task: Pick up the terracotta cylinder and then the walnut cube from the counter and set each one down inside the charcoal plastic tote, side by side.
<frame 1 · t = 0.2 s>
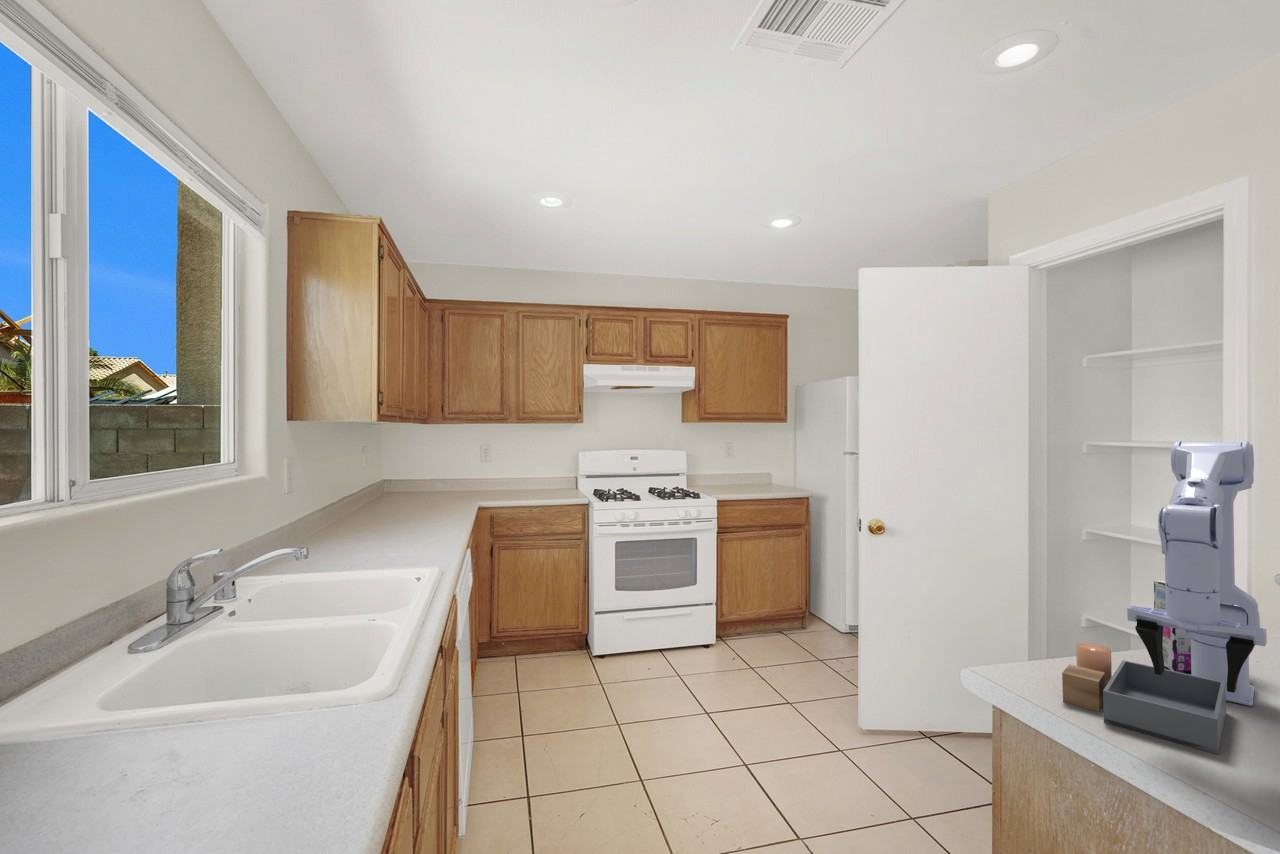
hand: (1194, 681, 85), 10 cm above the countertop, tool pointing down, fingers open, 7 cm apart
candy bar box: (1194, 669, 111), on the countertop
terracotta cylinder: (1094, 686, 105), on the countertop
tote: (1165, 717, 94), on the countertop
walnut cube: (1084, 701, 100), on the countertop
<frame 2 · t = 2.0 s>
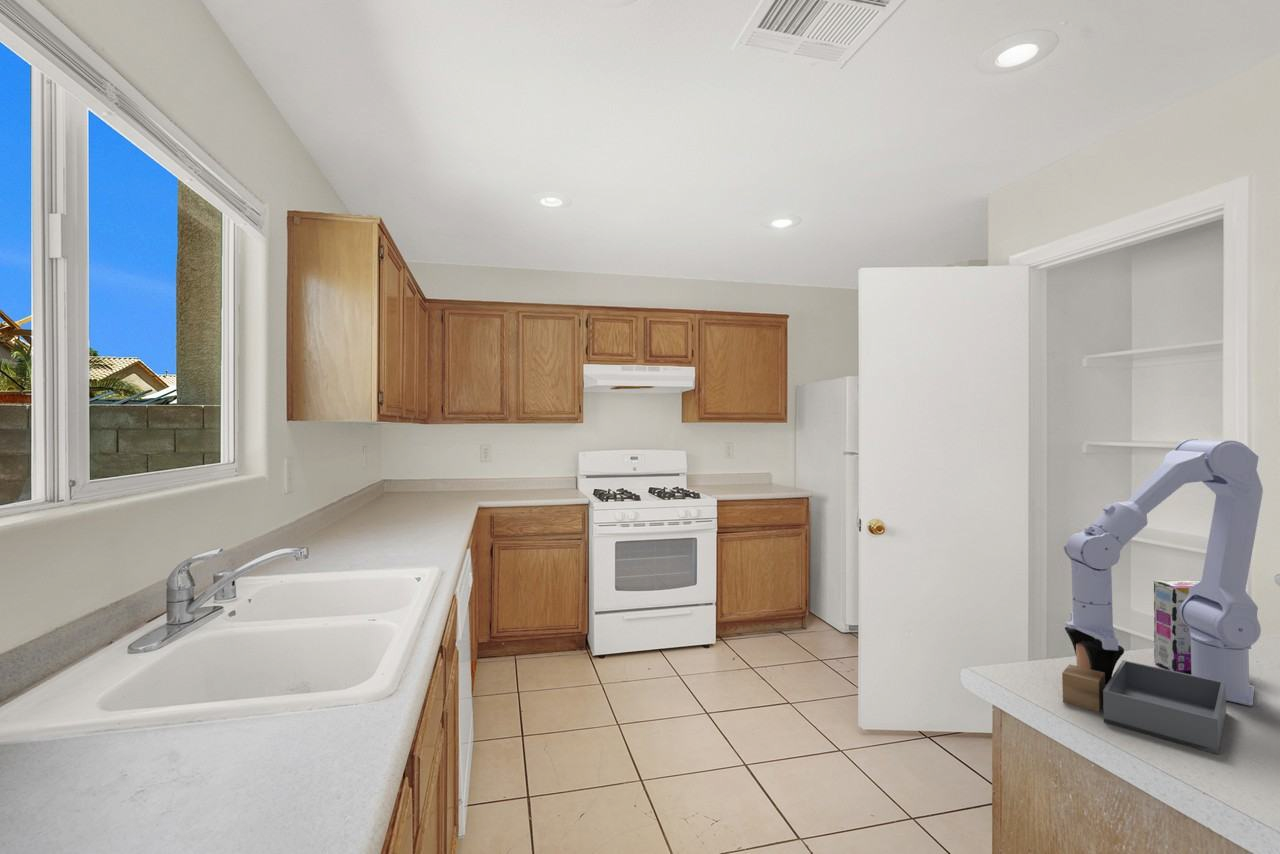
hand: (1093, 675, 105), 2 cm above the countertop, tool pointing down, fingers open, 6 cm apart
nothing on the countertop moved.
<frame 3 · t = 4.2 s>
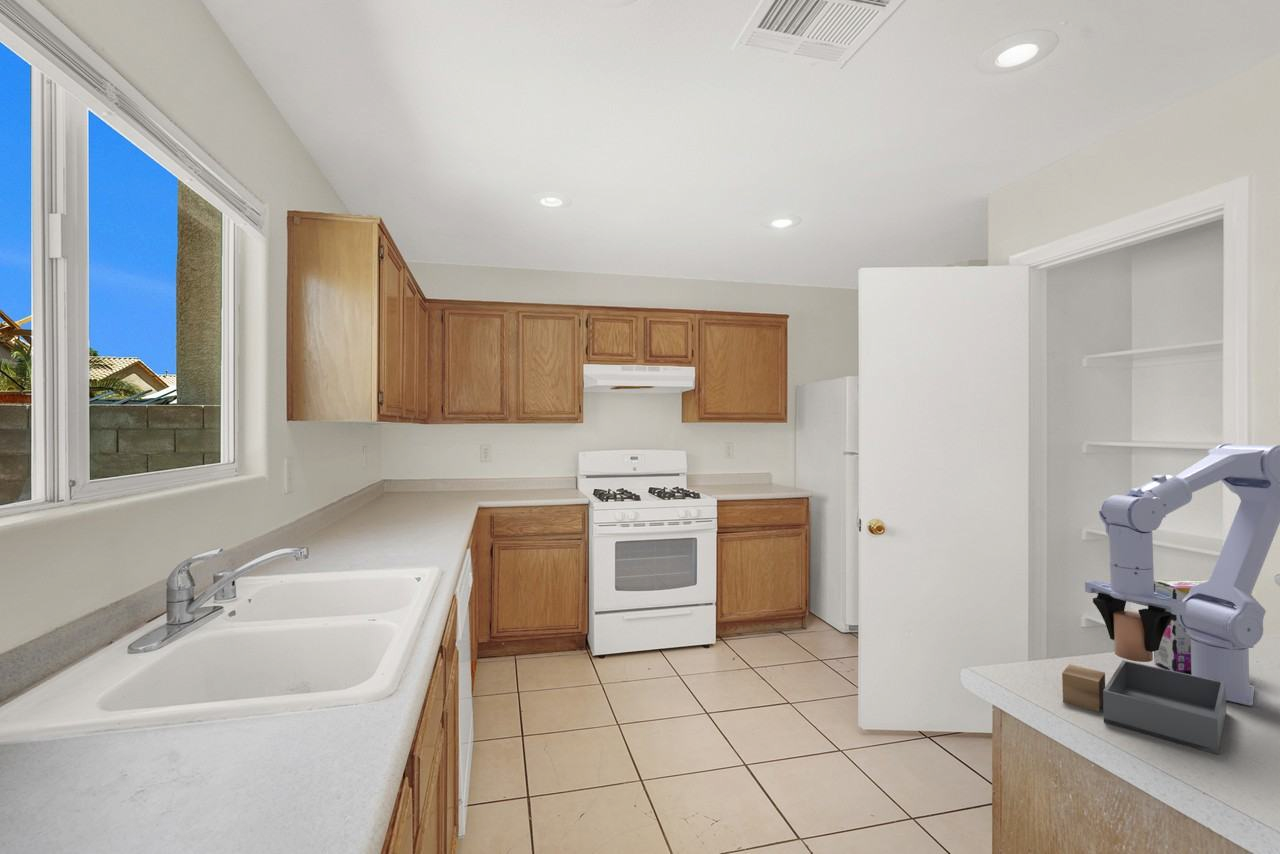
hand: (1133, 644, 100), 9 cm above the countertop, tool pointing down, fingers closed on terracotta cylinder, 5 cm apart
terracotta cylinder: (1133, 656, 100), point 7 cm above the countertop, touching gripper
everything else where it was.
when the fingers open (5 cm above the countertop, at t = 5.9 s): terracotta cylinder drops 2 cm, resting on tote.
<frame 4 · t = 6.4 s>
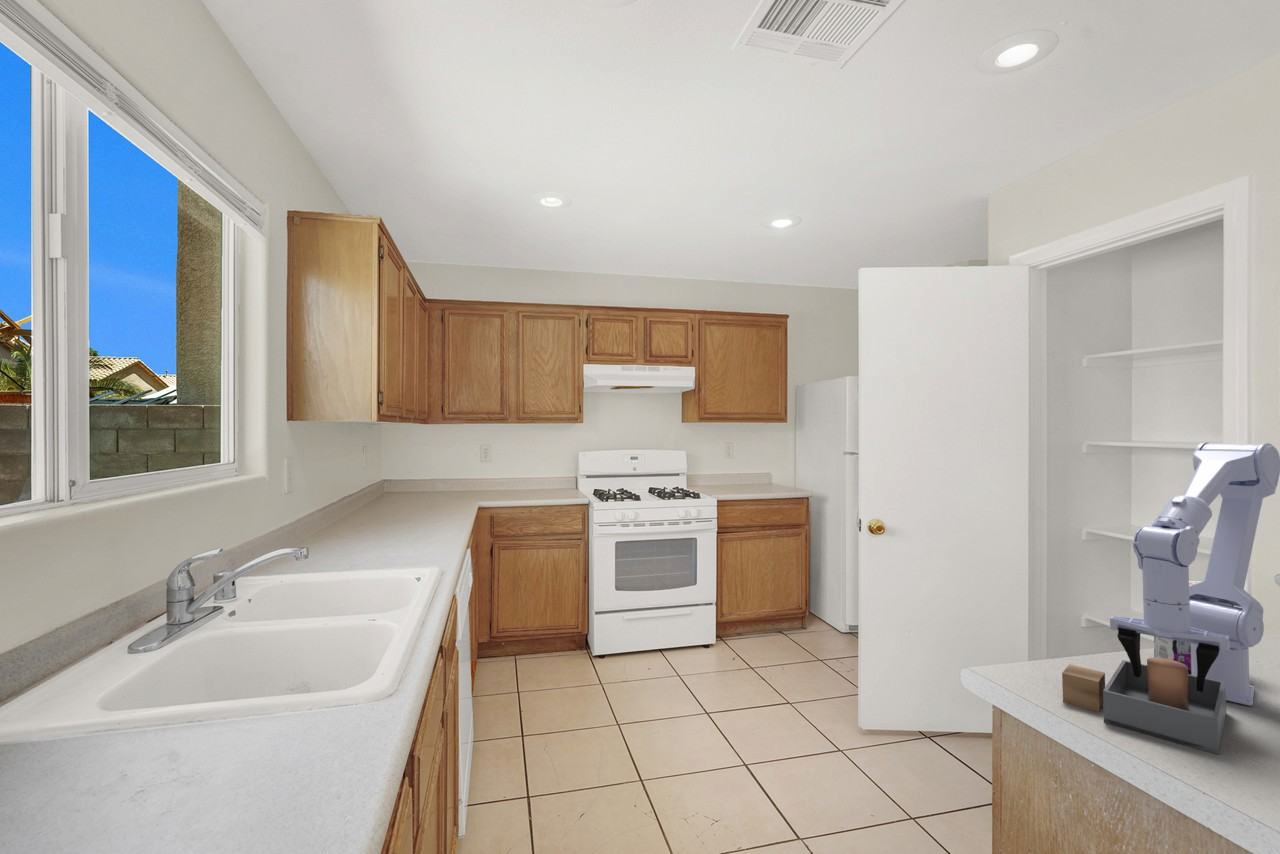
hand: (1168, 682, 96), 5 cm above the countertop, tool pointing down, fingers open, 7 cm apart
terracotta cylinder: (1168, 706, 96), point 1 cm above the countertop, touching tote
everything else where it was.
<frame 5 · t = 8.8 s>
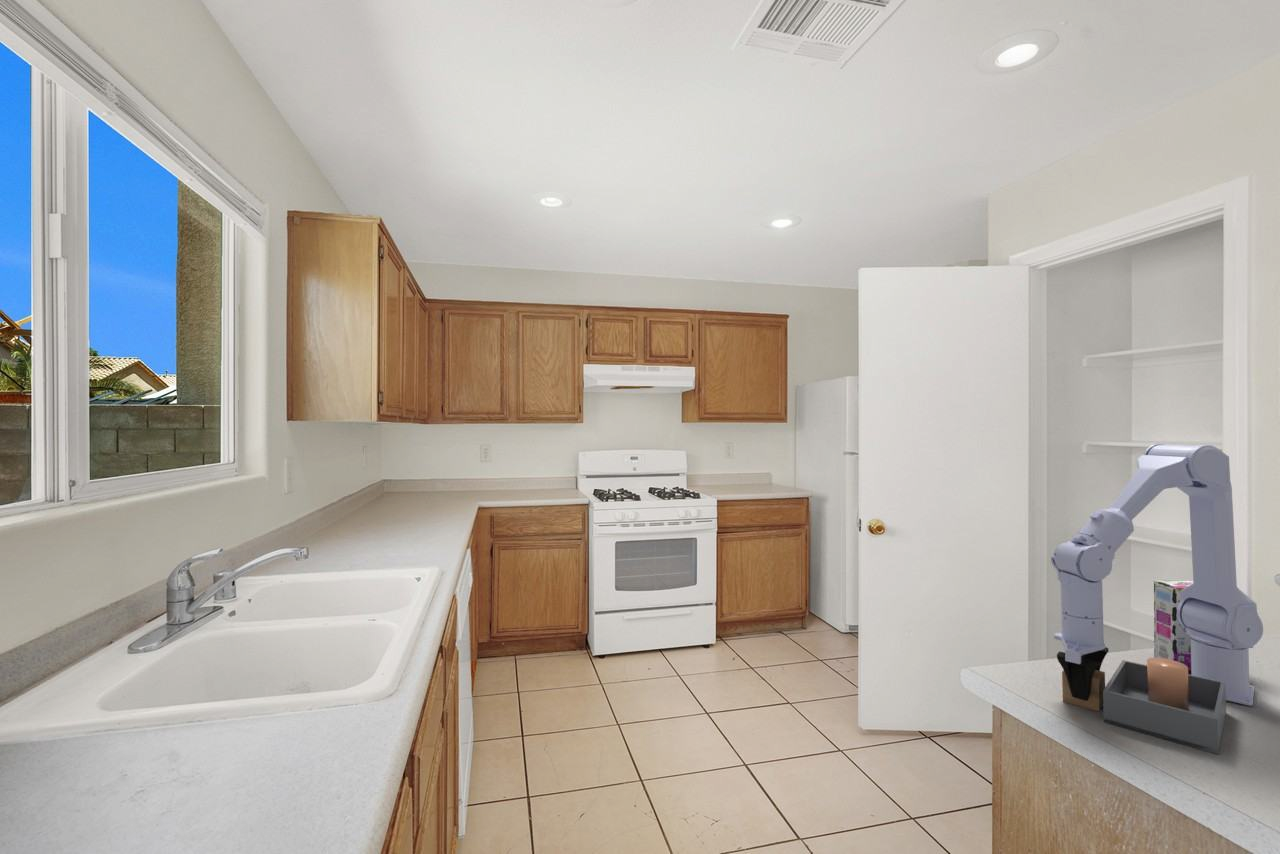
hand: (1083, 692, 100), 1 cm above the countertop, tool pointing down, fingers closed on walnut cube, 5 cm apart
walnut cube: (1084, 701, 100), on the countertop, touching gripper
everything else where it was.
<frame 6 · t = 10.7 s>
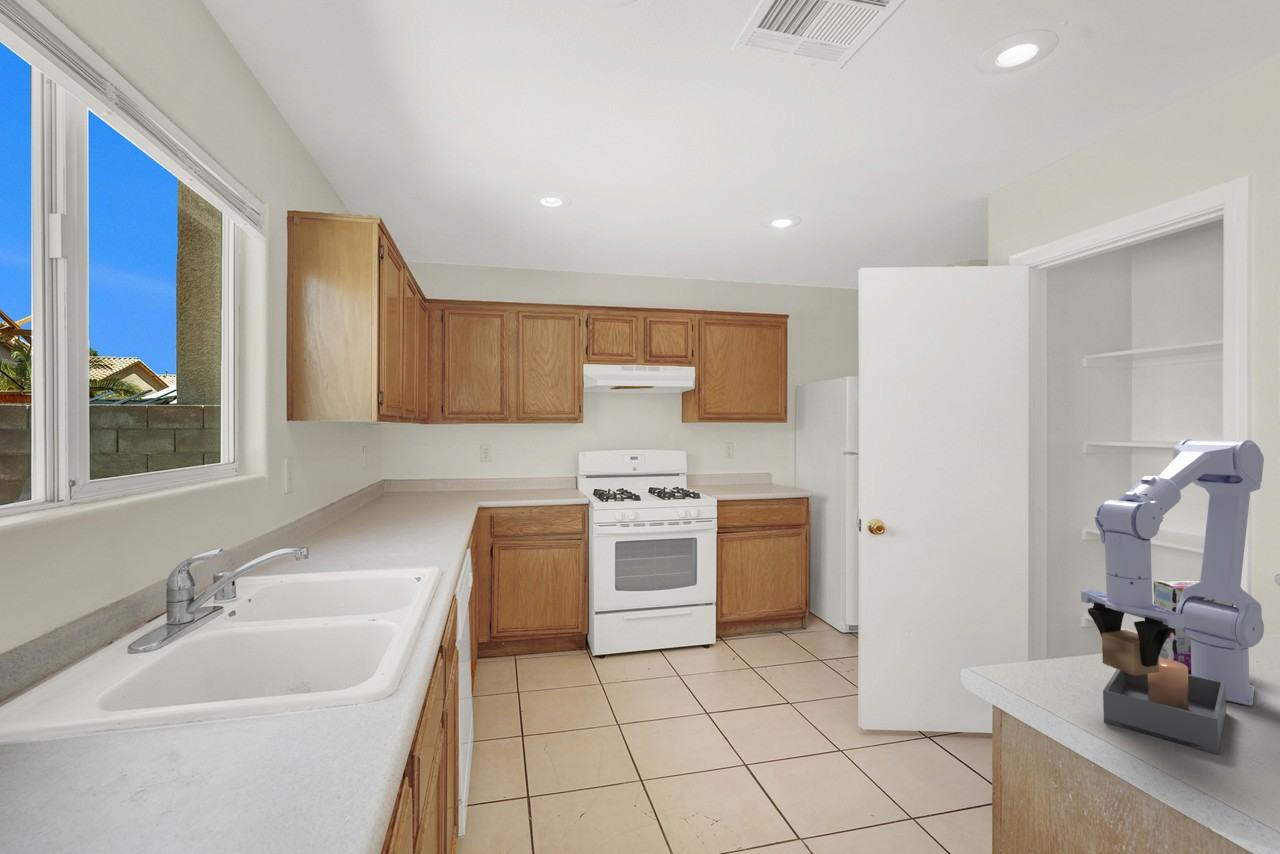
hand: (1130, 658, 94), 9 cm above the countertop, tool pointing down, fingers closed on walnut cube, 5 cm apart
walnut cube: (1130, 667, 94), point 8 cm above the countertop, touching gripper
everything else where it was.
when the fingers open (4 cm above the countertop, at t = 12.5 s): walnut cube drops 2 cm, resting on tote.
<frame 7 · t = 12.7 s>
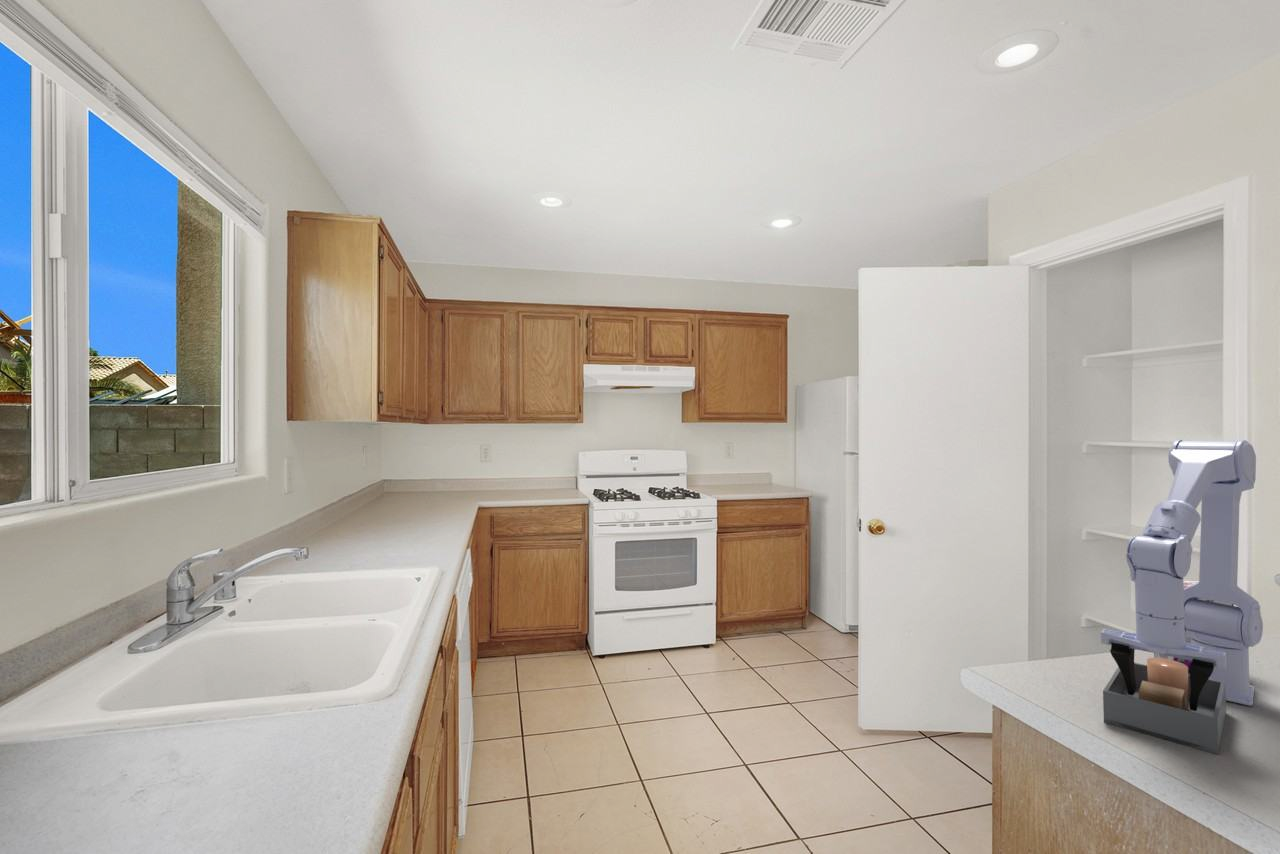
hand: (1161, 700, 91), 4 cm above the countertop, tool pointing down, fingers open, 7 cm apart
walnut cube: (1162, 722, 91), point 1 cm above the countertop, touching tote
everything else where it was.
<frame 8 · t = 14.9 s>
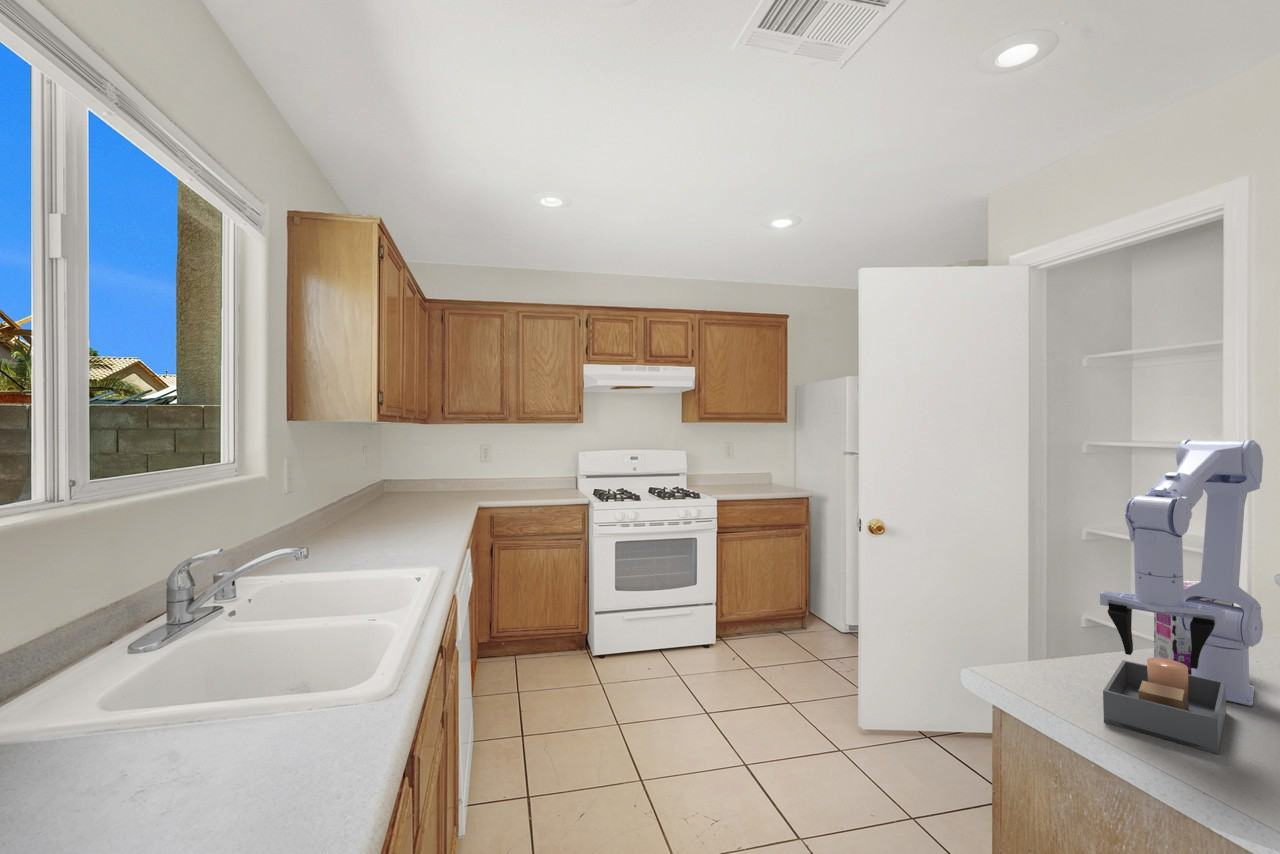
hand: (1160, 659, 91), 10 cm above the countertop, tool pointing down, fingers open, 7 cm apart
nothing on the countertop moved.
at the end: terracotta cylinder inside the target area on the tote (3.6 cm from its centre), point 0.6 cm above the tote's base; walnut cube inside the target area on the tote (3.8 cm from its centre), point 0.6 cm above the tote's base; the gripper is holding nothing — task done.
